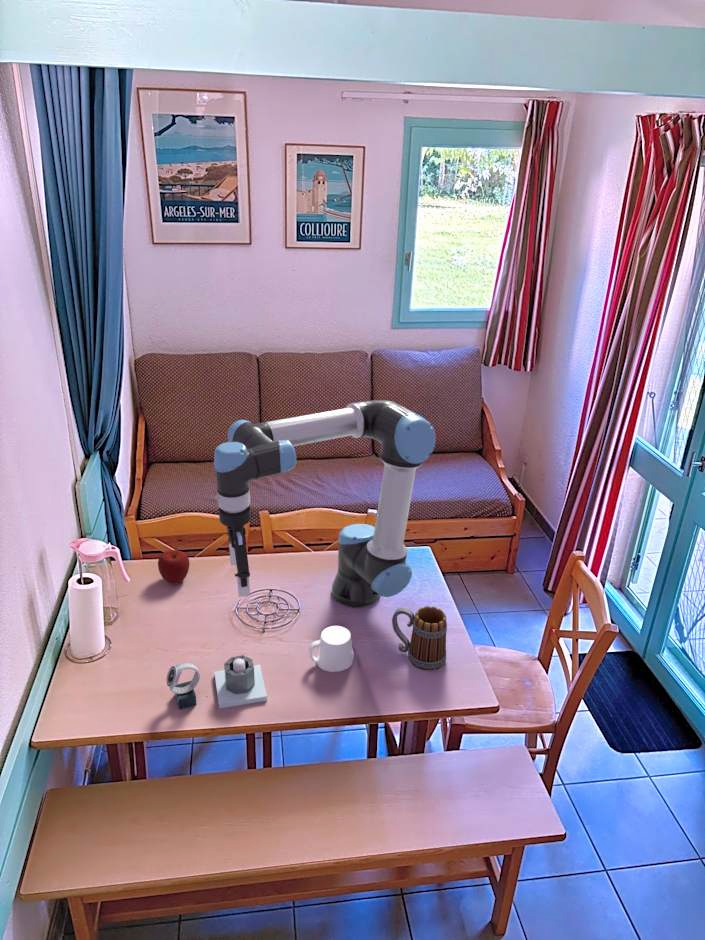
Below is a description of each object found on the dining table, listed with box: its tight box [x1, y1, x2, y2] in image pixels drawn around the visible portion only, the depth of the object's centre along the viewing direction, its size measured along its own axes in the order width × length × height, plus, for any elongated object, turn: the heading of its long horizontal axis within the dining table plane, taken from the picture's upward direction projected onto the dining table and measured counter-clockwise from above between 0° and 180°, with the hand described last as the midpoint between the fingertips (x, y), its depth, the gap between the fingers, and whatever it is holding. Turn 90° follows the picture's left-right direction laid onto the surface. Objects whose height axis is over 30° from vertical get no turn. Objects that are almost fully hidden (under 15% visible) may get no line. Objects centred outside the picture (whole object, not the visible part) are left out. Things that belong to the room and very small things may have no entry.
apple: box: [157, 549, 190, 585], centre depth 227 cm, size 10×10×10 cm
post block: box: [213, 659, 268, 709], centre depth 186 cm, size 12×12×8 cm
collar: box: [223, 655, 255, 694], centre depth 186 cm, size 7×7×6 cm
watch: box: [166, 662, 201, 710], centre depth 181 cm, size 6×8×11 cm
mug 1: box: [308, 625, 355, 673], centre depth 195 cm, size 12×9×8 cm
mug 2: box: [391, 605, 448, 672], centre depth 197 cm, size 16×11×15 cm
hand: (240, 579), depth 182 cm, fingers open, 13 cm apart
